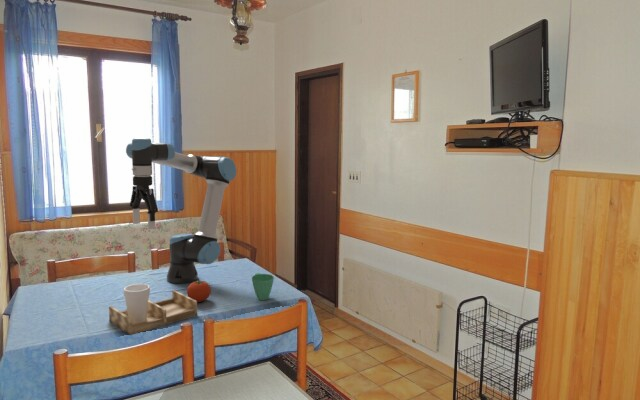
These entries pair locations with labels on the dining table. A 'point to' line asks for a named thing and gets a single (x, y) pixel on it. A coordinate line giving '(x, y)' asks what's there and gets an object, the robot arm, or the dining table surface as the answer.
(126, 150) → the robot arm
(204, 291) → the tomato
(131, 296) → the foam cup
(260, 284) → the mug
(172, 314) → the rack
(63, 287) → the dining table surface
